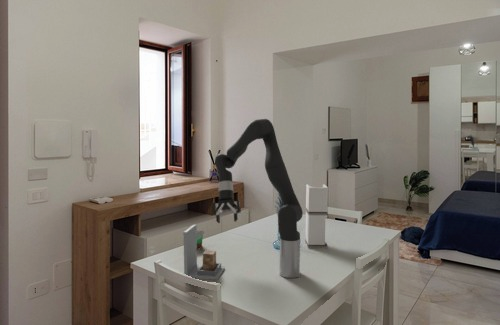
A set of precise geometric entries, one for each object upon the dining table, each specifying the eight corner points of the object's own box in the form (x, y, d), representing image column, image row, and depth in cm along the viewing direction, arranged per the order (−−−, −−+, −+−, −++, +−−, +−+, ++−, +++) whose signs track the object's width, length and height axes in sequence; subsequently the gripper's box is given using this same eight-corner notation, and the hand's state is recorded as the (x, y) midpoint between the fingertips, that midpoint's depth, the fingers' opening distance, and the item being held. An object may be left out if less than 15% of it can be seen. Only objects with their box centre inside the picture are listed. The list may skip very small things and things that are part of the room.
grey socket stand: (224, 268, 171) (224, 226, 169) (217, 280, 158) (216, 233, 156) (194, 266, 174) (193, 224, 172) (184, 277, 161) (183, 232, 159)
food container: (183, 251, 196) (183, 233, 195) (182, 247, 202) (182, 230, 201) (205, 249, 199) (205, 231, 198) (204, 245, 205) (204, 228, 204)
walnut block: (216, 269, 168) (216, 250, 167) (212, 274, 162) (212, 255, 161) (206, 268, 168) (205, 250, 168) (202, 273, 163) (202, 254, 162)
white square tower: (326, 248, 201) (328, 187, 197) (308, 248, 201) (309, 187, 198) (323, 242, 212) (324, 184, 209) (305, 241, 212) (306, 184, 209)
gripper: (210, 190, 180) (211, 222, 174) (237, 187, 177) (239, 219, 172) (214, 194, 186) (215, 224, 181) (240, 191, 184) (242, 222, 179)
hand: (227, 222), depth 176 cm, fingers open, 8 cm apart
